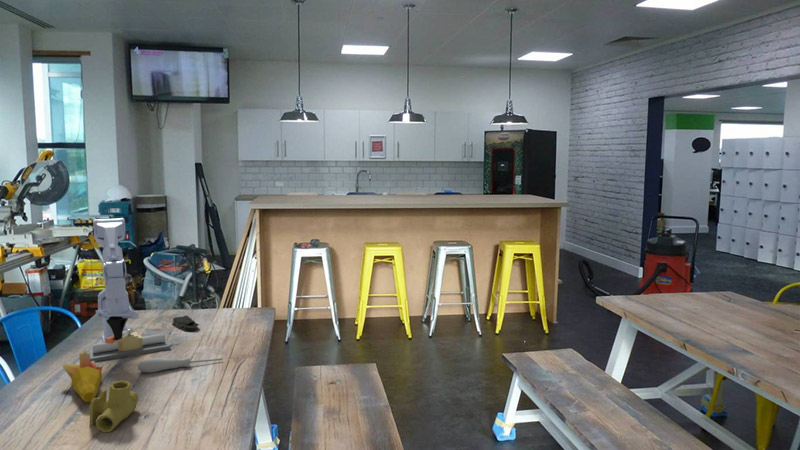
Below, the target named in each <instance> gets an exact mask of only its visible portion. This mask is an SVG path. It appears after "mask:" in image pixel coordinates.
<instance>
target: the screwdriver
mask: <svg viewBox="0 0 800 450" xmlns="http://www.w3.org/2000/svg"><path fill="white" fill-rule="evenodd" d="M223 359H224V358H211V359H200V360H191V359H190V357H189V356H186V357H185V358H159V357H158V358H157V357H154V358H153V357H151V358H147V359H142V360H141V361H140V362H139V363H138V364H137V370H138V371H139V372H141V373H147V374H151V373H158V372H161V371H166V370H171V369H177V368H181V367H182V368H183V367H184V368H190V365H191V364H193V363H203V362H215V361H218V362H219V361H223Z"/></svg>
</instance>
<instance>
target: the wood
mask: <svg viewBox="0 0 800 450" xmlns="http://www.w3.org/2000/svg"><path fill="white" fill-rule="evenodd" d="M172 319H173V322H172V323H171V326H173V327H174V328H176V329H179V330H181V331H183V332H184V333H185V332H186V333H187V332H188V333H189V332H190V333H193V332H195V331H197V327H198V326H199V325H200V324H199V323H198V322H196V321H195V320H193V319H192V318H191V317H190V316H188V315H183V316H178V317H177V316H175V317H173V318H172Z"/></svg>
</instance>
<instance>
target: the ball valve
mask: <svg viewBox="0 0 800 450" xmlns="http://www.w3.org/2000/svg"><path fill="white" fill-rule="evenodd" d="M131 386H132V383H130V381H127V380H118V381H113V383H112V384H110V386H109V392H108V389H106V388H104V389H102V390H101V391H100V393H99V395H98V396H97V397H94V398H93V399H92V401H90V403H89V404H90V405H89V407H88V409H89V426H93V425H94V424H95V426H96V428H97V430H98V431H101V432H102V433H111V432H112V431H113V430H115V428H117V426H119V424H121V423H122V422H123V421H124V420H126V419H127V418H128V417H129V416H130V415H131V414H132V413H133V412H135V410H136V409H137V405H138V402H139V399H140V397H139V395H138V394H137V392H136V391H133V390H131ZM107 392H108V393H109V394H108V393H107ZM107 395H108V400H107Z"/></svg>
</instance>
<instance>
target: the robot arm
mask: <svg viewBox="0 0 800 450" xmlns="http://www.w3.org/2000/svg"><path fill="white" fill-rule="evenodd" d="M125 220H126V219H125V218H124V217H120V218H118V217H117V218H98V219H97V218H95V219H94V220H93V222H92V223H93V235H94V240H95V242H96V243H100V244H101V246H102V248H103V249H102V260H103V263H102V276H103V277H102V278H103V281H104V286H105V287H104V288H103V290H101V291H100V292H99V293H98V295H97V310H96V309H95V317H98V318H99V317H102V323H103V326H102V327H103V334H101V338H102V341H103V342H102V343H106V338H108V337H110V336H112V335H114V338H115V340H119V339H121V338H122V332H123V331H125V329H127V321H128V320H129V319H131V320H137V319H139V311H133V310H131V309H130V300H129V293H128V291H127V290H126V278H127V265H126V264H127V263H126V261H125V258H124V256H123V248H122V246H121V247H120V245H119V243H120V242H122V241H123V240H125V236H126V221H125Z"/></svg>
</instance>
